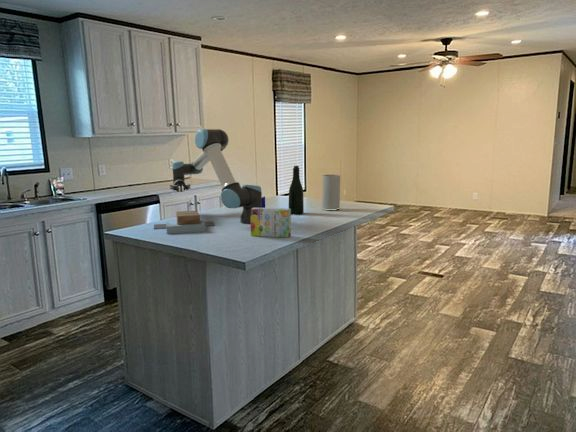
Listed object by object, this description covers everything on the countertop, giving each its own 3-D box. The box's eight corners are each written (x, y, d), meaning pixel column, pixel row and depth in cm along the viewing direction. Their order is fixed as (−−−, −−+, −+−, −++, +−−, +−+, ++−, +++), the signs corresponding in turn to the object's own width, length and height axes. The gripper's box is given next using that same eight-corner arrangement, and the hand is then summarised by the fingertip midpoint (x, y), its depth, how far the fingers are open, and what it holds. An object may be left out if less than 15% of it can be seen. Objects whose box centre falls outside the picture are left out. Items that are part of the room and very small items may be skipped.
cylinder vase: (318, 209, 320) (319, 175, 316) (330, 207, 328) (330, 174, 324) (331, 211, 311) (332, 176, 307) (343, 209, 319) (343, 175, 315)
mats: (154, 225, 264) (154, 224, 264) (212, 222, 274) (212, 221, 274) (153, 229, 253) (153, 228, 253) (214, 225, 263) (214, 224, 263)
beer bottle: (285, 213, 305) (285, 165, 299) (297, 211, 311) (297, 165, 305) (294, 215, 296) (294, 166, 291) (306, 213, 303) (307, 165, 297)
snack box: (291, 235, 237) (291, 208, 234) (288, 238, 231) (288, 209, 229) (253, 233, 241) (253, 206, 239) (250, 236, 236) (249, 208, 233)
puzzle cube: (261, 212, 310) (261, 198, 308) (248, 211, 312) (247, 197, 310) (265, 209, 319) (265, 196, 318) (252, 209, 321) (251, 195, 320)
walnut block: (177, 226, 261) (176, 211, 260) (197, 225, 265) (197, 210, 263) (178, 232, 246) (177, 216, 245) (200, 230, 250) (199, 215, 248)
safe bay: (166, 228, 254) (166, 222, 253) (203, 226, 260) (202, 220, 259) (166, 233, 241) (166, 226, 241) (205, 231, 247) (205, 224, 246)
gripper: (191, 191, 292) (193, 194, 270) (168, 192, 288) (169, 196, 266) (190, 179, 291) (193, 182, 269) (168, 180, 287) (168, 183, 265)
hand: (181, 189), depth 267 cm, fingers closed
